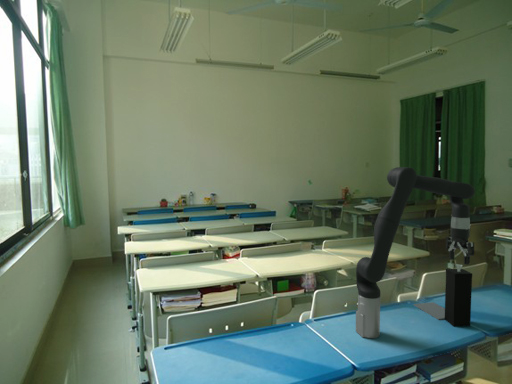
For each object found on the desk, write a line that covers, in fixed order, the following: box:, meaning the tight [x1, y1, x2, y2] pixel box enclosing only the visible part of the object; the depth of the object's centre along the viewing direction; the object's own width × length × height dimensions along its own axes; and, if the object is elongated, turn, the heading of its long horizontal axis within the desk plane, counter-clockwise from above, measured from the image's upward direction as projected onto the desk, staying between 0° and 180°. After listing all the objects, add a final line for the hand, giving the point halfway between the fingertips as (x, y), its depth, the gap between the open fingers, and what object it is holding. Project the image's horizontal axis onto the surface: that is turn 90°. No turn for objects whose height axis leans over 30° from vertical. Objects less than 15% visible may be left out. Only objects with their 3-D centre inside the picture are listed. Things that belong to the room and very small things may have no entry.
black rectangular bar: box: [444, 263, 473, 327], centre depth 160 cm, size 8×8×28 cm
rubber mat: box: [413, 301, 445, 321], centre depth 175 cm, size 12×18×1 cm, turn 12°
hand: (458, 261), depth 158 cm, fingers open, 8 cm apart
